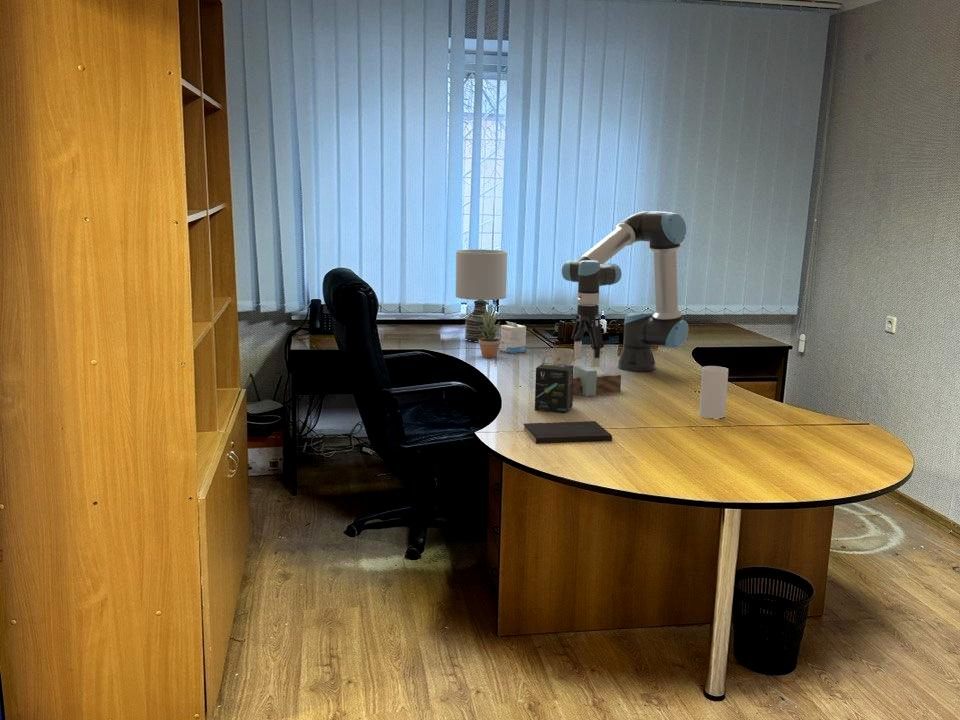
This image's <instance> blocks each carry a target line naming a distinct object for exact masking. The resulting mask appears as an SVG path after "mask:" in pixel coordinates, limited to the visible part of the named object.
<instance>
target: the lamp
mask: <svg viewBox="0 0 960 720" xmlns="http://www.w3.org/2000/svg"><path fill="white" fill-rule="evenodd" d="M507 274H508V251H507V250H501V249H486V248H485V249H481V248H480V249H479V248H478V249H477V248H476V249H473V248H471V249H469V248H468V249H467V248H466V249H457V250H455V298H458V299H461V300H462V299H464V300H472V301H473V300H474V301H473V305H474V306H473V311H472V313H470V314H469V315H468V316H467V317H466V319H465V323H464V325H465V328H464V330H465V332H464V340H465V339H467V340H471V341H478V340H479V339H482V338H483V337H484V336H483V335H482V333H483V332H485V331H484V329H486V328H485V326H484V322H483V319H484V317H485V319H486V315H485V311H486V314H487V317H488V309H487V305H488V300H489V301H497V300H504V299H506V298H507V284H508V283H507V282H508V281H507V279H508V278H507V276H508V275H507ZM483 316H484V317H483ZM490 316H491V317H492V314H490ZM494 326H496V324H494ZM494 326H493V327H494ZM478 327H479V328H480V329H481V330H482V331H483V332H482V331H481V330H480V329H479V328H478ZM483 328H484V329H483ZM481 332H482V333H481ZM484 338H485V337H484ZM467 340H466V341H467Z"/></svg>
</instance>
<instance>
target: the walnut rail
mask: <svg viewBox="0 0 960 720" xmlns="http://www.w3.org/2000/svg"><path fill="white" fill-rule="evenodd" d="M621 385H622V375H621V374H620V373H617V372H616V373H605V374H604V373H602V374H597V380H596V394H598V393H599V394H600V393H601V394H602V393H613V392H621V387H622V386H621ZM582 389H583V386H581V385H580V377H577V376H574V375H573V396H574V395H582Z"/></svg>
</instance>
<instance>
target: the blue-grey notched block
mask: <svg viewBox="0 0 960 720" xmlns="http://www.w3.org/2000/svg"><path fill="white" fill-rule="evenodd" d="M573 366H574V367H573V376H577V377H580V385H581V386H583V389H582V394H581V395H583V396H585V397H591V396H595V397H596V395H597V393H596V380H597V375H598V370H595V368H591V367H589V366H587V365H582V364H581V365H573Z"/></svg>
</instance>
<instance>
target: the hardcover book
mask: <svg viewBox="0 0 960 720" xmlns="http://www.w3.org/2000/svg"><path fill="white" fill-rule="evenodd" d="M522 425H523V426H524V427H523V429H524V431H525V432H526V433H527V434H528V436H529V437H530V438H531V439H532V440H533V441H534V442H535V444H536V445H538V444H540V445H541V444H544V445H545V444H567V443H569V444H570V443H595V442H612V441H613V435H612V433H610V432H609V431H608V430H606V429H605V428H604V427H603V426H602V425H601V424H600V423H599V422H597V421H595V420H591V421H590V420H587V421H559V422H553V421H552V422H528V423H527V422H526V423H523V424H522Z"/></svg>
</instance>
